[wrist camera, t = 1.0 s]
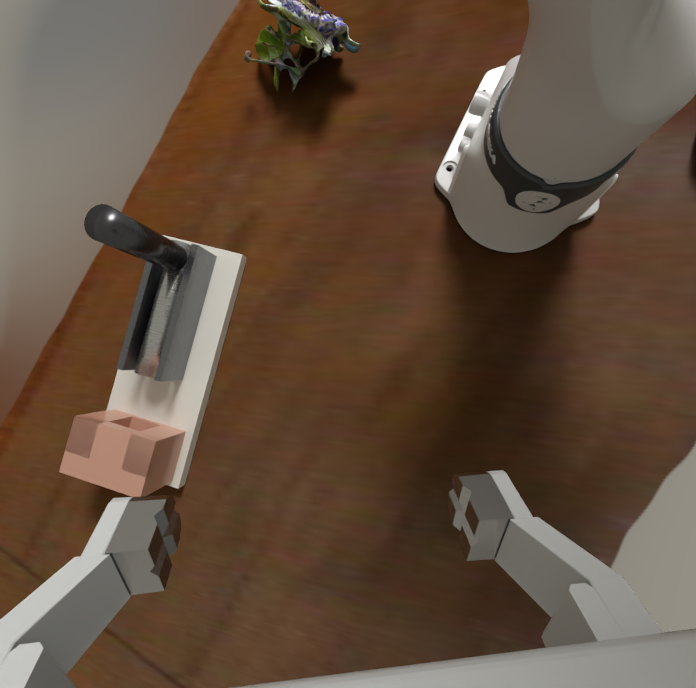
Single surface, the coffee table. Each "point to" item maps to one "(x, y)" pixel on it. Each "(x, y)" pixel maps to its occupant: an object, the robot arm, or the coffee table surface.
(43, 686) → the robot arm
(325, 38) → the passion flower
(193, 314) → the grey guide channel
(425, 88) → the coffee table surface
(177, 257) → the slide bolt
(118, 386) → the base board
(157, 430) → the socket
